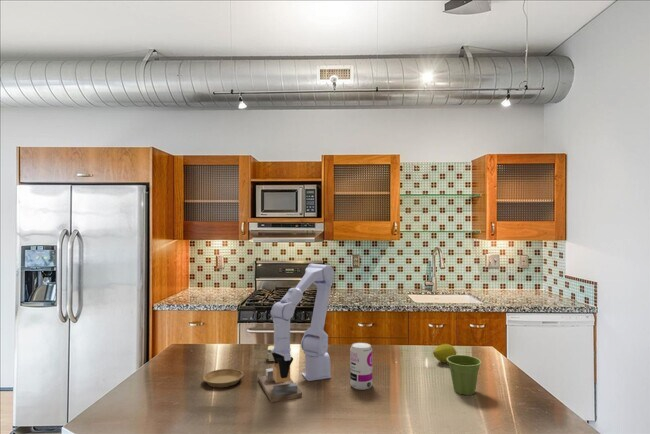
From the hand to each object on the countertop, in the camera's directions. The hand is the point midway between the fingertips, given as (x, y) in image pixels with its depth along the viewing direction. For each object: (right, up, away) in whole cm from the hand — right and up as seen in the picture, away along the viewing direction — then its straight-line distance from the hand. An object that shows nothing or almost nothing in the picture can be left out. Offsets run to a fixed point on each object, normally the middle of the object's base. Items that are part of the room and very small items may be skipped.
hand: (281, 374), depth 144 cm
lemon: (+67, -7, +31) cm, 74 cm away
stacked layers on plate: (-7, -8, +36) cm, 37 cm away
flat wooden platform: (-1, -6, +4) cm, 7 cm away
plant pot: (+65, -7, +1) cm, 66 cm away
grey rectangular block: (-3, -5, +8) cm, 10 cm away
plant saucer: (-23, -7, +10) cm, 26 cm away
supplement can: (+29, -7, +6) cm, 30 cm away
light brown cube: (0, -2, 0) cm, 2 cm away
